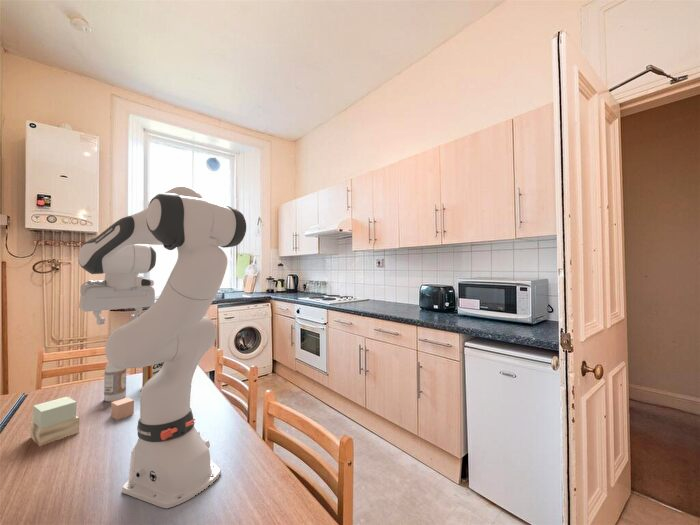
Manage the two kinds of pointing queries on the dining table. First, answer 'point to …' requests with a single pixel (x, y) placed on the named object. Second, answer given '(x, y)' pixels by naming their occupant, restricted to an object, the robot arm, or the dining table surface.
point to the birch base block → (54, 431)
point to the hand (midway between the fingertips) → (117, 322)
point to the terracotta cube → (122, 408)
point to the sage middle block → (54, 412)
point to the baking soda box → (150, 372)
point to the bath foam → (114, 383)
